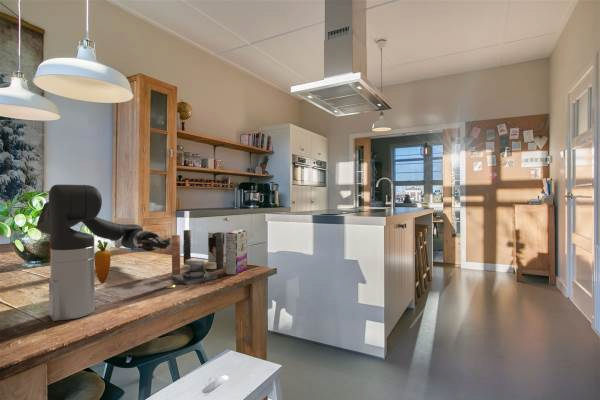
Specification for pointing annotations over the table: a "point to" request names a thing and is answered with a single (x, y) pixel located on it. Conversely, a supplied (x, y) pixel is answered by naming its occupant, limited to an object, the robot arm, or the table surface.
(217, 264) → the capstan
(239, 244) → the candy bar box
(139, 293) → the table surface
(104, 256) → the carrot
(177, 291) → the table surface
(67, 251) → the robot arm
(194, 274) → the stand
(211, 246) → the dark printed box
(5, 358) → the table surface
